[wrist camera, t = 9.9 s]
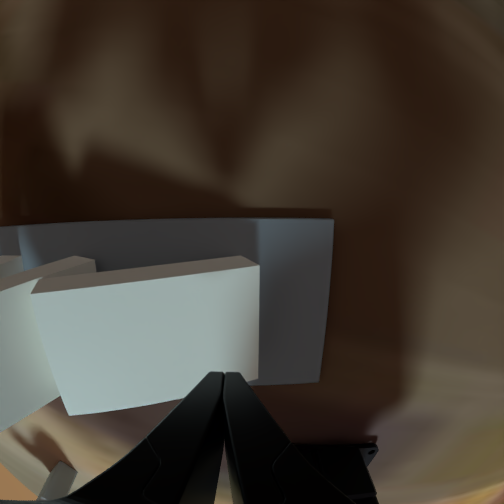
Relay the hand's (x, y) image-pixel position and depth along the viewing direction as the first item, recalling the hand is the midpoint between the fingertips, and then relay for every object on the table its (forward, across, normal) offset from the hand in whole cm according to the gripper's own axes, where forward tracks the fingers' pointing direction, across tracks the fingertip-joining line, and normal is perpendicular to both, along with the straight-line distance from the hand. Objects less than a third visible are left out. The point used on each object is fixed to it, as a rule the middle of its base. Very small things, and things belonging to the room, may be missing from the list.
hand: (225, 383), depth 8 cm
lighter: (+6, +16, +18) cm, 25 cm away
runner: (+6, +11, 0) cm, 12 cm away
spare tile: (+4, -1, 0) cm, 4 cm away
